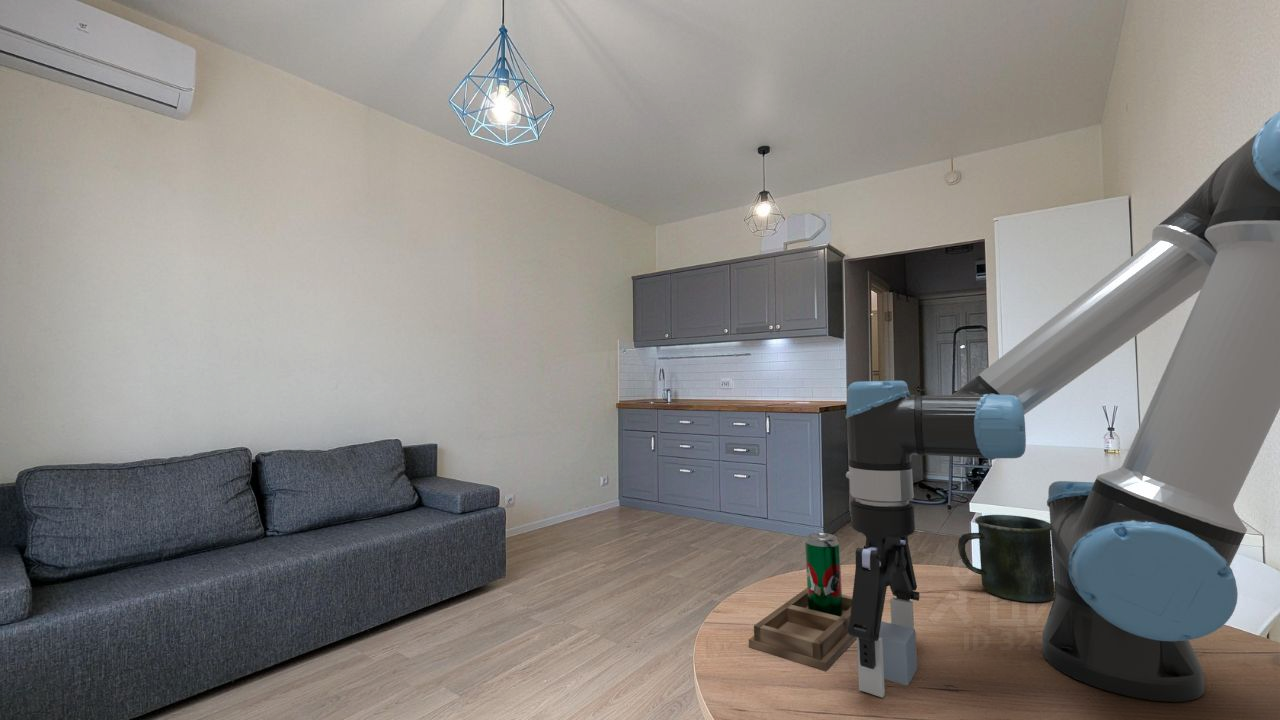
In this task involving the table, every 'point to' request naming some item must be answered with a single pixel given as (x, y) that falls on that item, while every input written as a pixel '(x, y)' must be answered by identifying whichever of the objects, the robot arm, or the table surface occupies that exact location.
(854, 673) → the table surface
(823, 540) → the soda can
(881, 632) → the block
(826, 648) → the caddy
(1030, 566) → the mug
